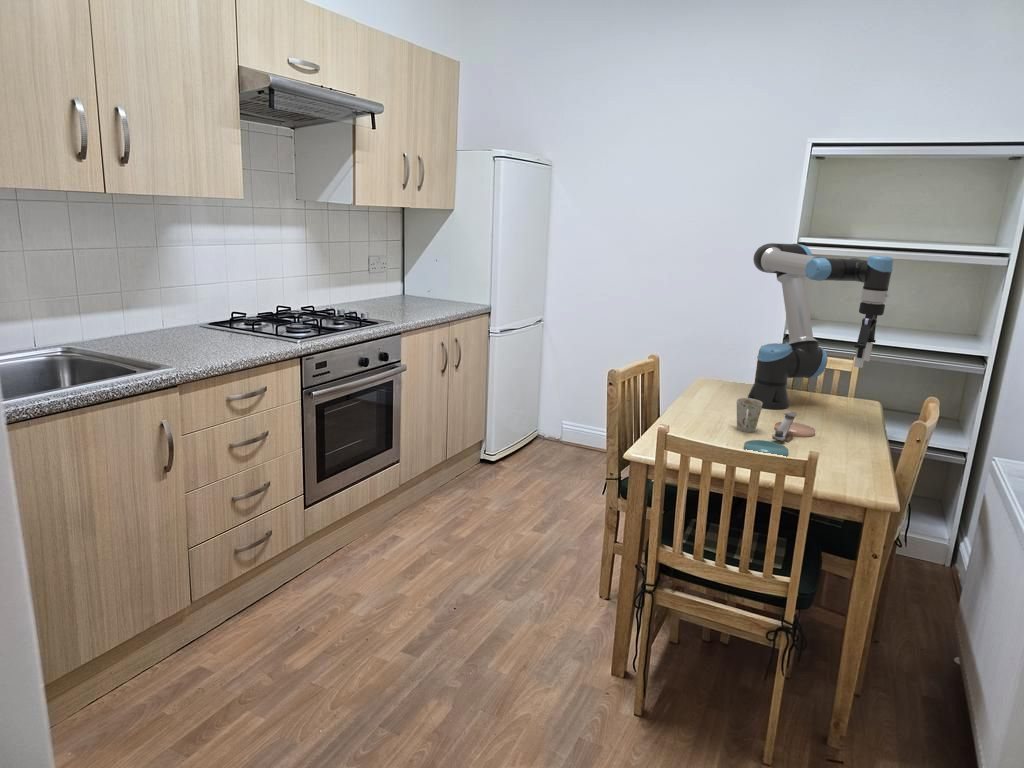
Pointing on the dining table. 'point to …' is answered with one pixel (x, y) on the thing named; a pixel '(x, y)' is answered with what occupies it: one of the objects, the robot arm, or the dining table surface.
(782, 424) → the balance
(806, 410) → the dining table surface
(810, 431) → the dish back
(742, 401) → the mug
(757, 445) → the dish front
